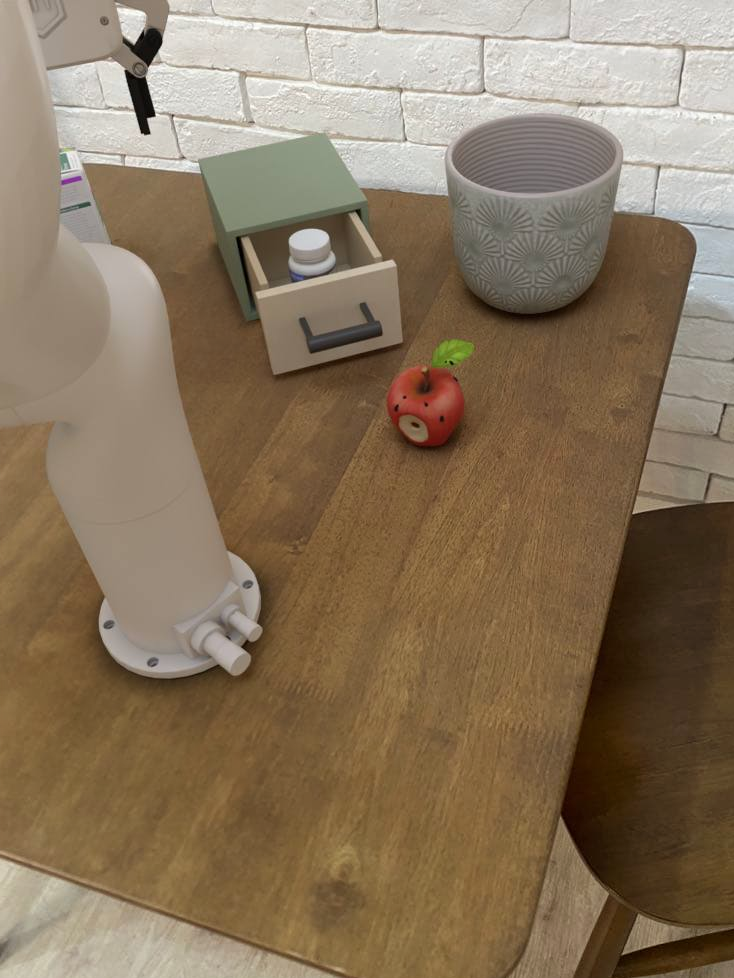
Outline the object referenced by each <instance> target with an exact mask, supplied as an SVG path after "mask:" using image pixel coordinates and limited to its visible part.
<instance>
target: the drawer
mask: <svg viewBox="0 0 734 978" xmlns="http://www.w3.org/2000/svg"><path fill="white" fill-rule="evenodd" d="M305 229H318V230H322V231H324V232H326V233H327V234H328V236H329V239H330V245H331V251H332V252H333V253H334V255H335V257H336V264H337V272H338V273H334V274H330V275H325V276H321V277H317V278H313V279H309V280H304V281H300V282H296V283H292V282H291V276H290V271H289V264H288V262H289V258H290V256H291V254H290V250H289V238H290V237H291V236H292V235H293V234H294V233H296V232H298V231H301V230H305ZM237 239H238V244H239V248H240V253H241V258H242V262H243V267H244V271H245V276H246V280H247V285H248V289H249V292H250V294H251V297H252V299H253V302H254V305H255V307H256V310H257V312H258V315H259V317H260V319H259V320H260V323H261V326H262V331H263V335H264V340H265V345H266V350H267V354H268V359H269V363H270V368H271V371H272V374H273V375H274V376H276V375H280V374H283V373H288V372H292V371H295V370H300V369H304V368H307V367H312V366H315V365H319V364H324V363H327V362H332V361H335V360H339V359H343V358H347V357H351V356H355V355H358V354H362V353H366V352H370V351H374V350H379V349H382V348H387V347H390V346H394V345H395V346H396V345H398V344H402V343H404V339H403V327H402V325H403V324H402V313H401V302H400V301H401V300H400V291H399V288H400V287H399V279H398V278H399V277H398V276H399V275H398V266H397V264H396V262H395V260H394V259H389V260H385V261H383V256H382V253H381V252H380V250H379V249H378V247H377V245H376V244H375V242H374V240H373V239H372V236H371V237H370V235H369V234H368V232H367V230H366V228H365V227H364V225H363V223H362V222H361V220H360V218H359V217H358V215H357V213H356V212H355V210H352V211H348V212H343V213H339V214H334V215H330V216H326V217H321V218H317V219H312V220H308V221H304V222H299V223H295V224H290V225H286V226H282V227H277V228H273V229H269V230H264V231H260V232H255V233H251V234H247V235H242V236H238V237H237Z"/></svg>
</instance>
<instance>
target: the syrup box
mask: <svg viewBox="0 0 734 978" xmlns="http://www.w3.org/2000/svg"><path fill="white" fill-rule="evenodd" d="M59 151H60V162H61V205H60V223H61V224H62V225H63V226H64V227H65V228H66V229H67V230H69V231H70V232H71V233H72V234H73V235H74V236H75V238H76V239H77V240H78V241H79V242H80V243H102V244H108V245H112V242H111V240H110V236H109V234H108V231H107V228H106V224H105V222H104V218H103V216H102V213H101V211H100V208H99V205H98V203H97V200H96V197H95V195H94V192H93V190H92V187H91V184H90V181H89V178H88V176H87V173H86V171H85V167H84V165H83V163H82V160H81V157H80V155H79V151H78V149H77V147H66V148H59Z"/></svg>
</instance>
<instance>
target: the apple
mask: <svg viewBox="0 0 734 978" xmlns="http://www.w3.org/2000/svg"><path fill="white" fill-rule="evenodd" d="M474 346H475V343H473V342H469V341H465V340H462V339H456V338H452V339H451V340H445V341H443V342H441V343H440V344H439V346H437V347H436V348H435V350H434V352H433V355H432V359H431V364H429V365H428V364H423V365H422V364H421V365H416V366H412V367H409V368H407V369H405V370H404V371H402V372H401V373H400V374H399V375H397V377H396V378H395V379H394V381H393V382H392V384H391V385H390V387H389V390H388V393H387V397H386V408H387V412H388V416H389V418H390V420H391V422H392V424H393V425H394V427H395V428H396V429H397V430H398V431H399V433H401V434H402V435H403V436H404V437H405V438H406V439H407V440H408V441H409V442H411V444H414V445H416V446H419V447H439V446H441V445H443V444H444V443H446V442H447V441H448V439H449V438H450V437H451V435H452V433H453V432H454V430H455V428H456V427H457V426H458V425H459V424H460V421H461V420H462V419H463V416H464V412H465V409H466V401H465V396H464V392H463V390H462V388H461V385H460V383H459V379H458V378H457V377H456V376H454V375H453V374H452V373H451V372H450V371H449V370H447V369H445V368H452V367H455V366H459V365H461V364H462V362H463V361H466V360H467V359H468V358H469V357H470V356H471V355H472V353H474V352H473V351H474Z"/></svg>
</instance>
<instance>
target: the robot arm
mask: <svg viewBox="0 0 734 978" xmlns="http://www.w3.org/2000/svg"><path fill="white" fill-rule="evenodd" d="M116 4H120V5H122V6H125V7H128V8H131V9H134V10H137V11H139V12H141V13H143V14H145V15H146V17H145V23H144V28H143V29H142V31H141V32H140V34H139V36H138V38H137V40H136V41H135V43H134V42H133V41H131V40H130V39H129V38H127V37H126V36H125V35H124V34H123V30H122V25H121V20H120V16H119V11H118V8H117V5H116ZM170 8H171V7H170V4H169V0H0V430H5V429H10V428H16V427H21V426H26V425H27V426H28V425H30V426H35V425H39V424H46V423H54V424H53V427H52V429H51V432H50V435H49V437H48V441H47V445H46V449H45V471H46V477H47V481H48V484H49V486H50V488H51V491H52V493H53V495H54V497H55V499H56V501H57V503H58V505H59V506H60V508H61V510H62V512H63V514H64V517H65V519H66V520H67V523H68V525H69V527H70V529H71V531H72V533H73V535H74V537H75V539H76V541H77V544H78V545H79V547H80V549H81V551H82V553H83V555H84V557H85V559H86V561H87V563H88V565H89V567H90V569H91V572H92V573H93V576H94V578H95V580H96V582H97V583H98V586H99V587H100V590H101V591H102V594H103V596H104V597H103V600H102V603H101V606H100V610H99V615H98V630H99V631H98V632H99V634H100V637H101V639H102V643H103V644H104V647H105V648H106V651H108V653H109V655H110V656H111V658H113V659H114V661H115V662H116V663H117V664H118V665H120V666H122V667H123V668H124V669H126V670H127V671H130V672H131V673H135V674H137V675H140V676H142V677H147V678H152V679H177V678H184V677H185V678H186V677H190V676H193V675H196V674H200V673H203V672H205V671H207V670H209V669H212V668H214V667H215V666H218V665H219V666H220V667H221V668H223V669H224V670H225V671H226V672H227V673H228V674H230V675H231V676H233V677H237V676H240V675H241V674H243V673H244V672H245V671H246V670H247V669H248V668H249V666H250V664H251V661H252V656H251V654H250V653H249V652H248V651H246V650H245V649H244V648H243V647H242V646H243V645H244V644H245V643H246V641H248V642H250V643H254V642H256V641H257V640H259V638H260V637H261V635H262V634H263V626H261V625H260V624H258V621H259V618H260V613H261V611H262V595H261V590H260V585H259V584H258V583H259V582H258V580H257V577H256V574H255V572H254V571H253V570H252V569H251V567H250V566H249V564H248V563H246V562H245V560H243V559H242V558H241V557H240V556H238V555H236V554H235V553H233V552H231V551H229V550H228V549H227V546H226V543H225V540H224V537H223V534H222V531H221V527H220V525H219V521H218V518H217V515H216V512H215V508H214V505H213V502H212V498H211V495H210V493H209V490H208V485H207V483H206V479H205V477H204V473H203V470H202V467H201V464H200V461H199V457H198V454H197V451H196V449H195V445H194V441H193V439H192V436H191V435H192V434H191V432H190V429H189V425H188V421H187V418H186V415H185V410H184V406H183V403H182V399H181V394H180V390H179V385H178V379H177V374H176V373H177V372H176V366H175V360H174V351H173V342H172V334H171V327H170V326H171V325H170V318H169V313H168V309H167V308H168V307H167V303H166V299H165V297H164V294H163V291H162V288H161V285H160V282H159V280H158V277H156V275H155V273H154V272H153V270H152V268H151V267H150V266H149V265H148V263H146V262H145V261H144V260H143V258H141V257H139V256H138V255H137V254H135V253H134V252H132V251H130V250H128V249H125V248H123V247H120V246H117V245H113V244H111V245H108V244H102V243H80V242H79V241H78V240H77V239H76V238H75V236H74V235H73V234H72V233H71V232H70V231H69V230H67V229H66V228H65V227H64V226H63V225H62V224H61V223H60V205H61V162H60V151H59V149H60V142H59V132H58V127H57V126H58V125H57V119H56V111H55V106H54V100H53V95H52V90H51V85H50V84H51V83H50V79H49V75H48V71H53V70H60V69H65V68H70V67H71V68H72V67H76V66H81V65H87V64H91V63H96V62H97V63H98V62H101V61H104V60H108V59H110V58H111V59H112V60H113V61H115V62H116V63H117V64H119V65H120V66H121V67H123V68H124V69H123V72H124V76H125V81H126V85H127V89H128V92H129V95H130V99H131V103H132V107H133V110H134V114H135V118H136V121H137V125H138V128H139V132H140V134H141V135H143V136H149V135H152V132H151V129H150V124H149V120H148V119H152V118H156V117H157V115H156V111H155V107H154V103H153V99H152V95H151V91H150V88H149V83H148V80H147V76H148V73H149V68H150V66H151V64H152V63H153V62H154V59H155V58H156V56H157V55H158V53H159V51H160V50H161V48H162V46H163V43H164V40H163V39H164V34H165V32H166V27H167V23H168V18H169V13H170Z"/></svg>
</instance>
